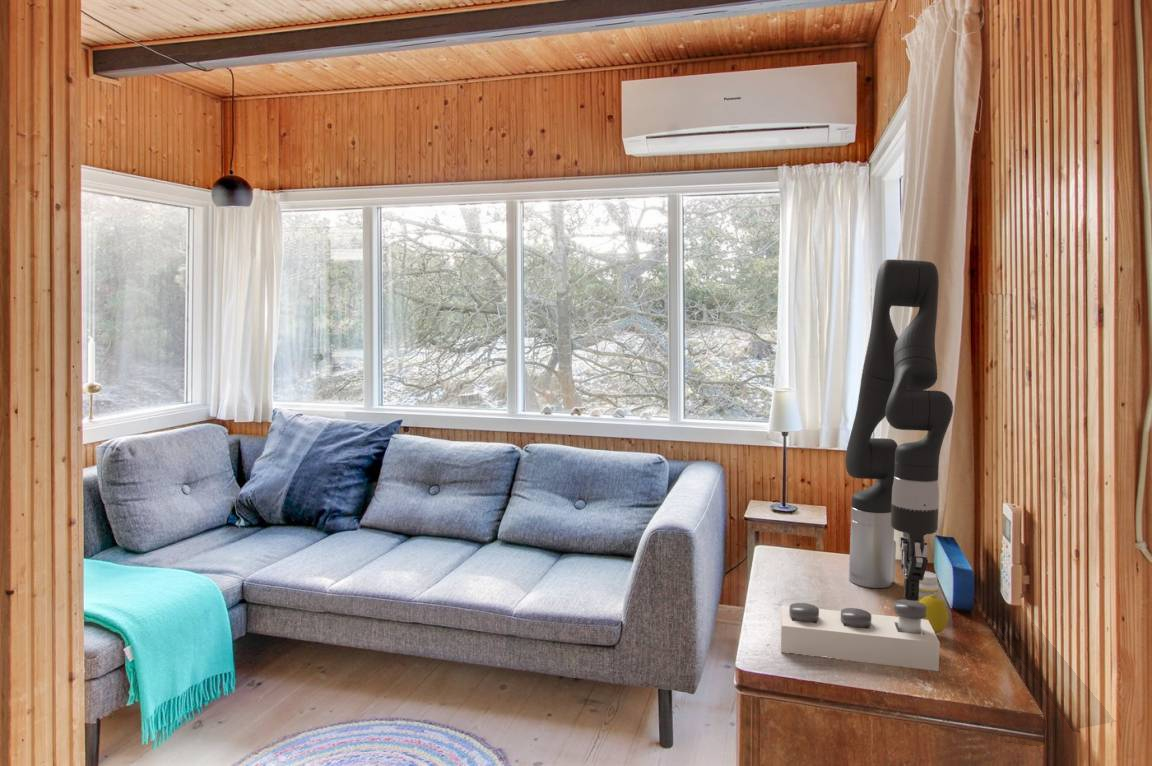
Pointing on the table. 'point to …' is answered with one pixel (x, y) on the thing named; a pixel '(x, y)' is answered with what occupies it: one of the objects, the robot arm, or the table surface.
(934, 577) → the supplement bottle
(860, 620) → the knob middle
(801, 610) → the knob
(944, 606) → the lemon
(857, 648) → the knob panel
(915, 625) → the knob
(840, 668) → the table surface
